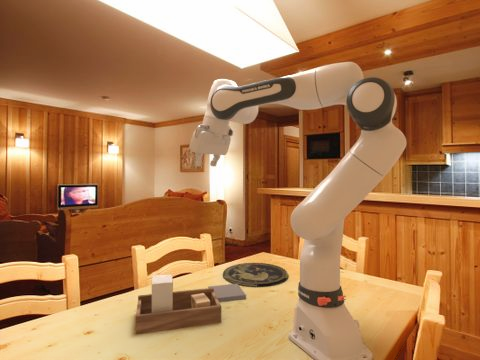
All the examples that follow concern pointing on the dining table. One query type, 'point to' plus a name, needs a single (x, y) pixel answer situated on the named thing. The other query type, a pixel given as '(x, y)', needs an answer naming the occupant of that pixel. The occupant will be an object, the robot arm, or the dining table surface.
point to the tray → (177, 312)
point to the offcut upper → (199, 300)
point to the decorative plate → (255, 275)
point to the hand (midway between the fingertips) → (206, 166)
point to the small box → (162, 293)
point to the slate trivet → (228, 292)
